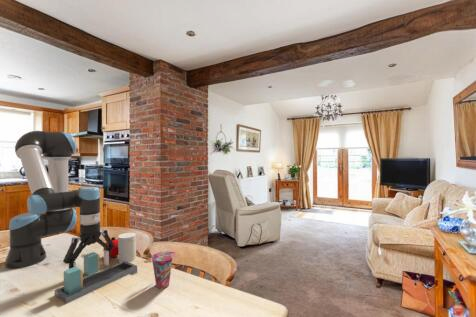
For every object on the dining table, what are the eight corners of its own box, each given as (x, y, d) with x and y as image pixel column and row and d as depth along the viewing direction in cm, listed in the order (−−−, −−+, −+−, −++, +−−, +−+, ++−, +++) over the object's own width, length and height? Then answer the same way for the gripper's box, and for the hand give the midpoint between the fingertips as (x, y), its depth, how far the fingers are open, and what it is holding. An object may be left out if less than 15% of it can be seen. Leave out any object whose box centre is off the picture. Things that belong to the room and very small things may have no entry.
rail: (54, 298, 88) (54, 290, 88) (125, 267, 112) (125, 260, 112) (66, 306, 83) (66, 298, 83) (137, 272, 107) (137, 265, 107)
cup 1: (129, 263, 116) (129, 238, 116) (114, 261, 118) (114, 237, 118) (139, 256, 124) (139, 233, 124) (125, 254, 126) (125, 232, 125)
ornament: (122, 258, 121) (122, 239, 121) (102, 261, 118) (102, 241, 117) (123, 251, 129) (123, 233, 129) (104, 254, 126) (104, 235, 126)
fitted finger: (83, 291, 90) (83, 268, 90) (69, 298, 86) (68, 273, 86) (78, 288, 93) (77, 265, 92) (64, 294, 88) (63, 270, 88)
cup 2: (165, 292, 91) (165, 261, 91) (147, 288, 94) (146, 258, 94) (178, 280, 100) (178, 252, 100) (161, 277, 103) (161, 249, 103)
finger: (100, 273, 106) (99, 253, 106) (88, 278, 102) (88, 257, 102) (95, 270, 109) (94, 251, 108) (83, 275, 105) (83, 255, 104)
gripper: (61, 232, 92) (62, 286, 93) (122, 217, 113) (122, 261, 114) (52, 229, 96) (53, 281, 97) (113, 215, 117) (113, 258, 118)
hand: (91, 270), depth 105 cm, fingers open, 13 cm apart
